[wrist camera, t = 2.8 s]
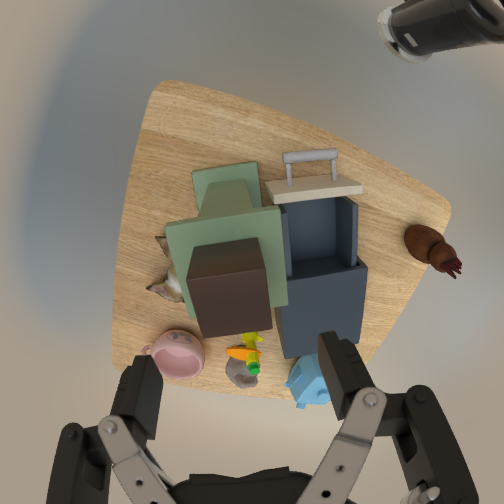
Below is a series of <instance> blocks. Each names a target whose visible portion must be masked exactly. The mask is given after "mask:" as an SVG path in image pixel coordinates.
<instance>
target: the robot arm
mask: <svg viewBox="0 0 504 504" xmlns="http://www.w3.org/2000/svg"><path fill="white" fill-rule="evenodd" d="M404 1H405V3H403V4H401V5H399V6H397V7H395V8H393V9H391V12H392V14H391V15H390V17H389V19H388V28H389V32H390V34H391V36H392V38H393V40H394V41H395V43H396V44H397V45H398V46H399V47H400V48H401V49H402V50H403V51H405V52H406V53H408V54H410V55H413V56H422V55H426V54H429V53H434V52H439V51H445V50H451V49H457V48H463V47H471V46H479V45H488V44H504V10H503V9H502V8H501V7H500V6H499V5H497V4H496V3H495V2H494V1H493V0H404ZM499 1H500V2H501V4H502V6H503V7H504V0H499ZM318 362H319V366H320V369H321V372H322V375H323V378H324V381H325V384H326V387H327V390H328V392H329V395H330V398H331V401H332V404H333V407H334V410H335V413H336V416H337V419H338V421H339V420H342V419H345V420H344V422H343V424H342V426H341V428H340V430H339V432H338V434H336V436H335V437H334V439H333V441H332V443H331V445H330V447H329V449H328V450H327V452H326V454H325V456H324V458H323V460H322V461H321V463H320V465H319V467H318V468H317V470H316V472H315V473H314V475H313V476H312V475H309V474H306V473H302V472H296V471H289V467H288V466H287V467H281V468H275V469H267V470H262V471H259V472H256V473H253V474H250V475H247V476H244V477H240V478H234V477H228V476H222V475H216V474H190V475H189V479H188V480H185V481H182V482H180V483H178V484H176V483H174V481H173V480H172V479H171V478H170V477H169V476H168V475H167V474H166V473H165V471H164V470H163V469H162V467H161V466H160V464H159V463H158V462H157V460H156V459H155V457H154V456H153V455H152V453H151V452H150V450H149V449H148V447H147V446H146V442H147V439H149V440H155V434H156V427H157V421H158V414H159V408H160V401H161V395H162V389H163V378H162V375H161V373H160V371H159V369H158V367H157V365H156V363H155V361H154V359H153V357H152V356H151V355H137V356H135V358H134V361H133V364H132V366H128V367H127V368H126V369H125V370H124V372H123V373H122V375H121V378H120V384H119V385H118V388H117V389H118V390H117V391H116V395H115V398H114V402H113V405H112V409H111V413H110V415H109V416H106V417H105V418H103V419H102V420H101V421H100V423H99V425H97V426H93V427H88V428H83V427H82V426H80V425H79V424H78V423H69V424H67V425H66V426H65V427H64V428H63V429H62V431H61V435H60V439H59V442H58V447H57V450H56V455H55V459H54V463H53V467H52V473H51V477H50V482H49V488H48V494H47V500H46V504H108V494H109V484H110V475H111V466H112V463H113V464H114V465H113V466H112V469H113V471H114V473H115V475H116V477H117V479H118V480H119V482H120V483H121V486H122V487H123V489H124V491H125V492H126V494H127V495H128V497H129V499H130V500H131V502H132V503H133V504H356V503H355V502H353V501H351V500H350V499H348V496H349V494H350V492H351V490H352V488H353V486H354V484H355V482H356V480H357V478H358V475H359V474H360V471H361V469H362V467H363V465H364V463H365V460H366V458H367V455H368V453H369V451H370V449H371V446H372V442H373V439H374V437H377V436H392V439H393V442H394V445H395V448H396V451H397V454H398V457H399V460H400V463H401V466H402V469H403V472H404V475H405V479H406V482H407V486H408V489H409V492H408V493H407V494H406V495H405V496H404V497H403V498H402V500H401V502H400V504H479V497H478V494H477V491H476V488H475V485H474V482H473V480H472V477H471V475H470V472H469V469H468V467H467V464H466V462H465V459H464V457H463V454H462V452H461V450H460V447H459V445H458V443H457V440H456V438H455V436H454V434H453V432H452V430H451V427H450V425H449V423H448V421H447V419H446V417H445V415H444V413H443V411H442V409H441V406H440V405H439V402H438V400H437V399H436V397H435V395H434V393H433V391H432V390H431V389H430V388H429V387H427V386H424V385H415V386H413V387H411V388H410V389H409V390H408V391H407V392H406V393H399V394H388V393H384V392H383V391H381V390H380V389H378V388H376V386H375V385H374V383H373V381H372V379H371V377H370V375H369V373H368V371H367V369H366V367H365V365H364V363H363V361H362V359H361V357H360V355H359V353H358V351H357V349H356V347H355V345H354V344H353V343H352V342H351V341H349V340H348V339H347V338H346V339H342V340H339V338H338V336H337V334H336V332H335V330H333V331H328V332H323V333H319V335H318Z"/></svg>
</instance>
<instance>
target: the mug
mask: <svg viewBox="0 0 504 504" xmlns="http://www.w3.org/2000/svg"><path fill="white" fill-rule="evenodd" d="M147 349H151V356H152V357H153V359H154V361H155V363H156V365H157V367H158V369H159V371H160V373H161V374H163V375H164V376H166V377H169V378H172V379H179V380H184V379H190V378H193V377H195V376H197V375H198V374H199V373H200V372H201V371H202V369H203V366H204V360H205V355H204V350H203V348H202V345H201V343H200V342H199V340H198V339H197V338H196V337H195V336H194V335H192V334H191V333H189V332H186V331H183V330H170V331H167V332H165V333H163V334H162V335H160V336H159V337H158V338H157V339H156V341H155V342H154V344H153V346H152V345H147V346H145V347H144V348H143V349H142V355H147V354H146V350H147Z"/></svg>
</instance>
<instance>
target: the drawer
mask: <svg viewBox="0 0 504 504" xmlns="http://www.w3.org/2000/svg"><path fill="white" fill-rule="evenodd" d="M337 158H338V153H337V150H336V149H321V150H308V151H296V152H286V153H282V159H283V163H284V164H285V168H286V178H287V179H282V180H274V181H267V182H265V188H266V191H267V193H268V194H269V196H270V198H271V200H272V204H273V206H275V205H278V207H279V208H280V212H281V222H282V233H283V244H284V256H285V268H286V278H292V277H298V276H304V275H310V274H316V273H322V272H328V271H333V270H339V269H344V268H350V267H355V266H356V262H357V237H358V204H357V203H355V202H354V201H352V200H351V199H349V198H348V197H346V196H349V195H358V194H363V185H362V184H360V183H358V182H356V181H354V180H352V179H350V178H348V177H346V176H344V175H342V174H336V160H335V159H337ZM319 160H330V165H331V174H330V175H319V176H309V177H300V178H292V174H291V164H290V163H297V162H307V161H319Z"/></svg>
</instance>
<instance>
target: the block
mask: <svg viewBox="0 0 504 504" xmlns="http://www.w3.org/2000/svg"><path fill="white" fill-rule="evenodd" d="M186 284H187V287H188V291H189V294H190V297H191V301H192V304H193V308H194V311H195V314H196V317H197V321H198V324H199V327H200V330H201V333H202V336H203V338H212V337H220V336H228V335H236V334H243V333H250V332H257V331H263V330H269V329H272V328H273V326H272V317H271V308H270V300H269V291H268V283H267V274H266V267H265V264H264V260H263V256H262V252H261V248H260V244H259V241H258V238H257V237H255V238H248V239H242V240H235V241H228V242H222V243H216V244H209V245H203V246H196V247H194V248H193V252H192V256H191V260H190V264H189V268H188V272H187V276H186Z"/></svg>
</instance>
